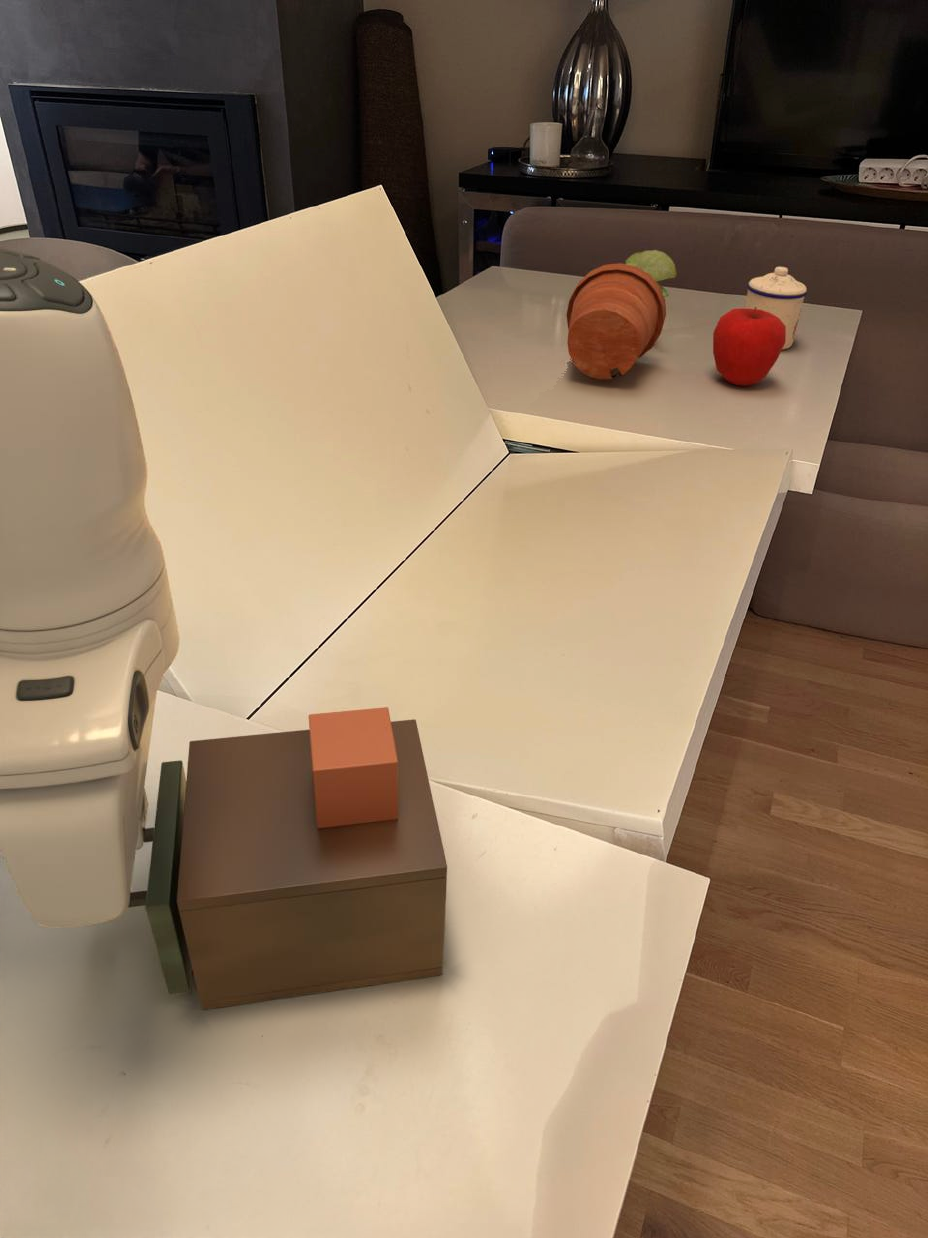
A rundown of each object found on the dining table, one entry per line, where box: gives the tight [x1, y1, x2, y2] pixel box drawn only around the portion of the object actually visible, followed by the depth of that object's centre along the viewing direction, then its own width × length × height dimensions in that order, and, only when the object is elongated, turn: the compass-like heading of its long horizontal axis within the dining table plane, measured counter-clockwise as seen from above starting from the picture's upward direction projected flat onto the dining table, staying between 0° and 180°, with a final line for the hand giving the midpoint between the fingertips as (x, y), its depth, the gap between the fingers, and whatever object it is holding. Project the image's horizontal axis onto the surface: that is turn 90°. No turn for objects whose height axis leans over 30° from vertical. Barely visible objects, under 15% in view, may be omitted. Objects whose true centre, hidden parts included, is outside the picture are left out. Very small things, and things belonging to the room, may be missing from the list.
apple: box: [712, 307, 786, 387], centre depth 130 cm, size 10×10×11 cm
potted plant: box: [566, 249, 677, 380], centre depth 138 cm, size 16×15×35 cm
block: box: [308, 706, 398, 828], centre depth 50 cm, size 4×4×4 cm
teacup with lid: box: [743, 266, 808, 351], centre depth 146 cm, size 12×9×12 cm
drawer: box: [128, 760, 193, 996], centre depth 53 cm, size 17×10×8 cm, turn 101°
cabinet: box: [177, 718, 448, 1010], centre depth 53 cm, size 14×12×10 cm
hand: (130, 830), depth 50 cm, fingers closed
